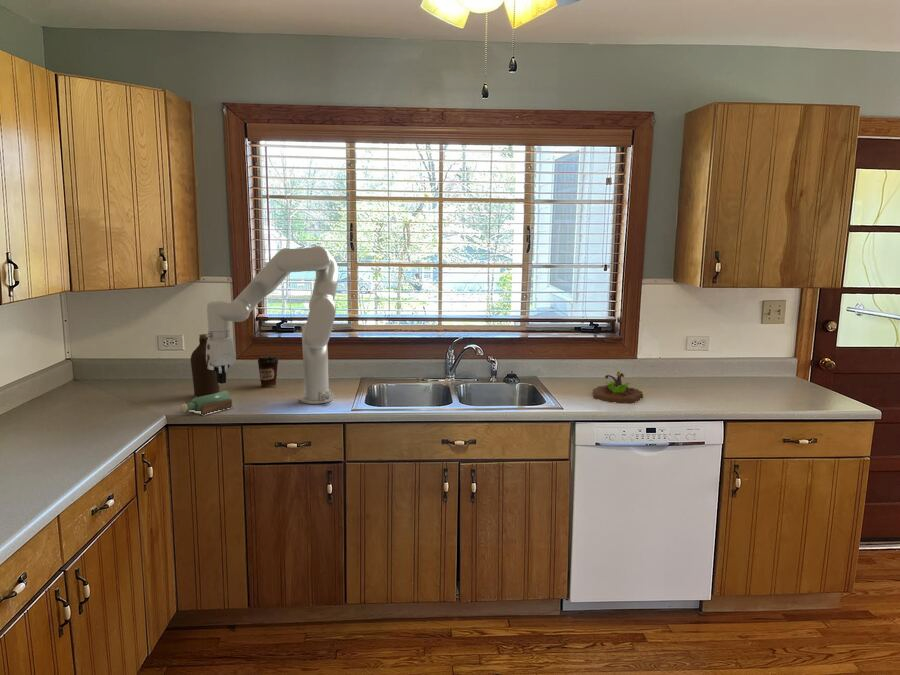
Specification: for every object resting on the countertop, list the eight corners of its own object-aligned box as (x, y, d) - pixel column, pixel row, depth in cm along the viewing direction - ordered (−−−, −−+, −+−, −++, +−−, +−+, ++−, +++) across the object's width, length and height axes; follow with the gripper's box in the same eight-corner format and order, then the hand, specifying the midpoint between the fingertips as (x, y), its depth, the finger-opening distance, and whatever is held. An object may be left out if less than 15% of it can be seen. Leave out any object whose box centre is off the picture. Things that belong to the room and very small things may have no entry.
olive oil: (198, 401, 249) (194, 337, 245) (189, 395, 257) (185, 334, 253) (225, 396, 256) (221, 335, 251) (215, 391, 264) (212, 331, 260)
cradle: (232, 408, 240) (231, 399, 239) (203, 416, 230) (203, 406, 229) (214, 403, 246) (213, 394, 245) (185, 410, 236) (185, 401, 236)
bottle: (229, 391, 242) (186, 402, 227) (230, 404, 243) (187, 415, 228) (221, 390, 245) (178, 400, 230) (222, 402, 246) (179, 413, 231)
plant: (588, 400, 256) (589, 373, 254) (595, 389, 274) (596, 363, 272) (640, 406, 249) (642, 378, 247) (644, 394, 267) (646, 368, 265)
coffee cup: (275, 389, 268) (274, 358, 266) (256, 388, 269) (254, 358, 266) (281, 384, 277) (280, 354, 275) (262, 383, 277) (261, 354, 275)
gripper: (207, 338, 230) (210, 388, 233) (242, 333, 242) (244, 380, 245) (195, 336, 234) (198, 385, 237) (229, 331, 246) (232, 377, 249)
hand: (221, 382), depth 241 cm, fingers closed
